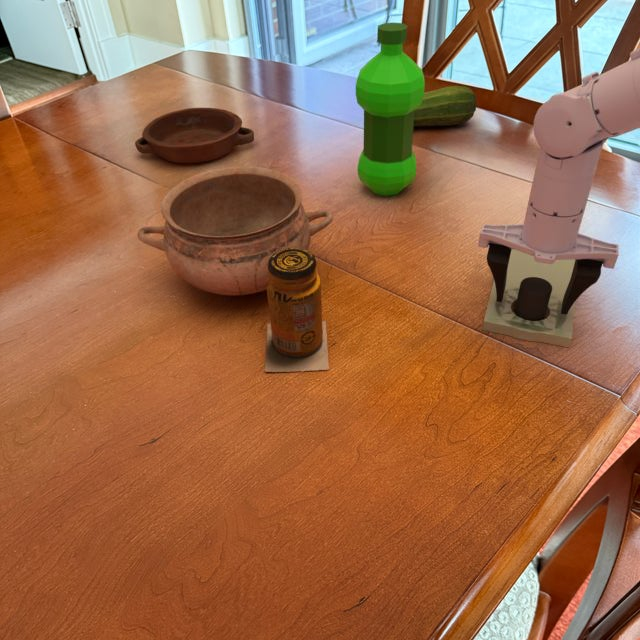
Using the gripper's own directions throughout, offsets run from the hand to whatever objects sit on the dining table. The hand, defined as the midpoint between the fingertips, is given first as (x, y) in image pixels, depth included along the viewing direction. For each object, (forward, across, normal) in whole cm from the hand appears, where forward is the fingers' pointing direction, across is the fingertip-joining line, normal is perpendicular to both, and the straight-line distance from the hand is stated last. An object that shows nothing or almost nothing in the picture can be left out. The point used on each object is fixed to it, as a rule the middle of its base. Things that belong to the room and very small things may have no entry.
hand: (531, 303), depth 72 cm
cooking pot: (+3, -37, -3) cm, 38 cm away
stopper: (+2, 0, 0) cm, 2 cm away
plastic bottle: (+3, -26, +27) cm, 37 cm away
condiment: (+3, -25, -14) cm, 29 cm away
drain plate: (+2, 0, +6) cm, 6 cm away
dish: (+3, -64, +31) cm, 71 cm away
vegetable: (+3, -26, +53) cm, 59 cm away
